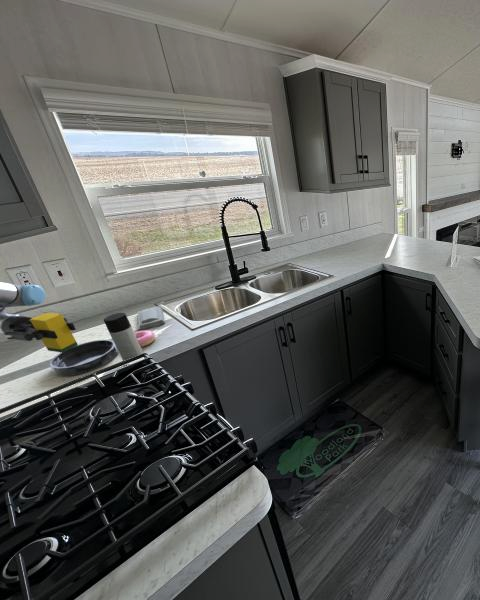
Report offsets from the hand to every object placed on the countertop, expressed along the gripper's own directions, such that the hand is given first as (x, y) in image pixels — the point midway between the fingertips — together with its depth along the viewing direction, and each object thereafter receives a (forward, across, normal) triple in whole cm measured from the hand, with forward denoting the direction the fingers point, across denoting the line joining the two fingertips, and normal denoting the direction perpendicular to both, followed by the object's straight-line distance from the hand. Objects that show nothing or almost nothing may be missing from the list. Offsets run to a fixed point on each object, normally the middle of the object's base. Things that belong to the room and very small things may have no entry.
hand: (64, 330), depth 115 cm
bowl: (-8, -6, -18) cm, 21 cm away
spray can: (+12, -9, -18) cm, 24 cm away
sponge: (-5, 0, -8) cm, 9 cm away
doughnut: (+2, -21, -19) cm, 28 cm away
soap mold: (-14, -40, -19) cm, 46 cm away
